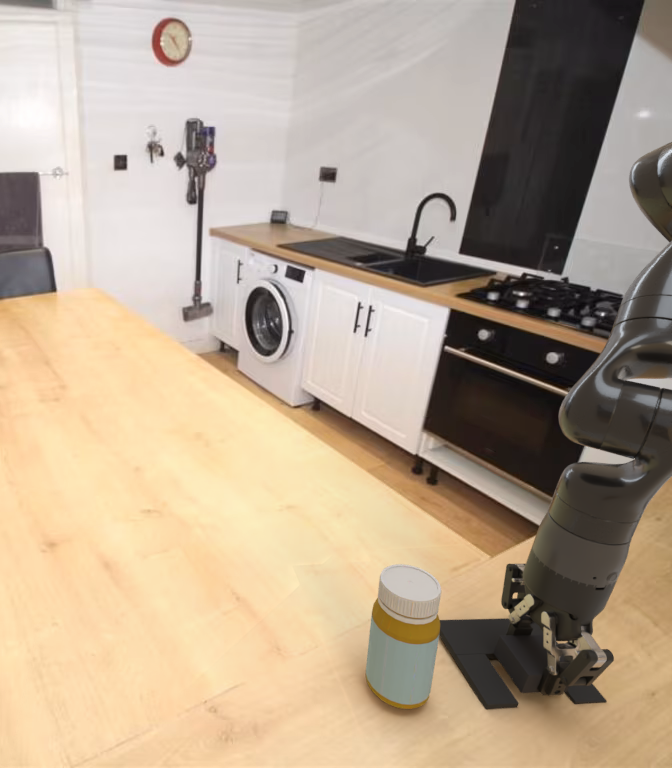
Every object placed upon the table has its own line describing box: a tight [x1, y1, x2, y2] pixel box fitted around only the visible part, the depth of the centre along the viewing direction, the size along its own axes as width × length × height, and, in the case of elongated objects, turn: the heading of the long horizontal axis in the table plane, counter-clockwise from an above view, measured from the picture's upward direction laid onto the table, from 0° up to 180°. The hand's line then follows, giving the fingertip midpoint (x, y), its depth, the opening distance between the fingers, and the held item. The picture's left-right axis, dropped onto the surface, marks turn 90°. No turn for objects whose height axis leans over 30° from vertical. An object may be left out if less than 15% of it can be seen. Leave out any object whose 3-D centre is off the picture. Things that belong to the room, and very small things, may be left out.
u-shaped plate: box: [439, 617, 608, 710], centre depth 67 cm, size 14×12×1 cm
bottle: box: [365, 563, 442, 710], centre depth 62 cm, size 7×7×15 cm
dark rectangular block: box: [494, 635, 569, 694], centre depth 64 cm, size 5×5×3 cm
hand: (530, 669), depth 64 cm, fingers closed on dark rectangular block, 5 cm apart
